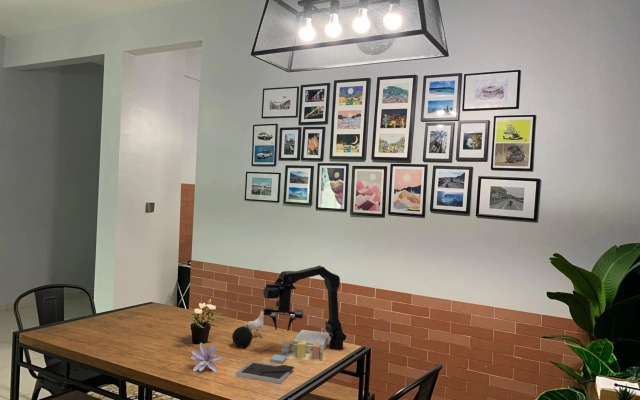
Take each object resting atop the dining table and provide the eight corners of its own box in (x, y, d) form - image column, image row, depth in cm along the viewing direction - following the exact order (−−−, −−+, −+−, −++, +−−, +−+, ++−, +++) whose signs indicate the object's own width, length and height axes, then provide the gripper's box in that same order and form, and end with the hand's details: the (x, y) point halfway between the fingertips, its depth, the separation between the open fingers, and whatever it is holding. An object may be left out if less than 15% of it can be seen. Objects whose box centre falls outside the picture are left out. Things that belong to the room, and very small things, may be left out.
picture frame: (293, 372, 216) (251, 365, 222) (294, 366, 216) (251, 359, 222) (281, 385, 201) (235, 377, 207) (281, 379, 201) (235, 371, 207)
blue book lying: (286, 362, 227) (287, 356, 227) (282, 367, 221) (282, 360, 221) (274, 360, 229) (274, 354, 229) (269, 365, 222) (270, 359, 222)
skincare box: (291, 351, 243) (322, 354, 240) (291, 340, 243) (322, 343, 240) (301, 339, 264) (330, 342, 260) (301, 329, 264) (330, 331, 260)
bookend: (289, 352, 237) (290, 342, 237) (288, 356, 231) (288, 346, 231) (283, 352, 237) (284, 342, 237) (282, 356, 231) (282, 346, 231)
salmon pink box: (319, 354, 237) (319, 342, 237) (318, 359, 230) (319, 346, 230) (313, 354, 237) (313, 341, 237) (312, 358, 230) (313, 346, 230)
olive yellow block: (306, 353, 237) (306, 340, 236) (305, 358, 231) (306, 344, 230) (297, 353, 237) (298, 340, 237) (296, 357, 231) (297, 343, 231)
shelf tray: (322, 356, 238) (322, 345, 238) (321, 363, 228) (322, 352, 228) (281, 353, 239) (282, 343, 239) (279, 360, 229) (280, 349, 229)
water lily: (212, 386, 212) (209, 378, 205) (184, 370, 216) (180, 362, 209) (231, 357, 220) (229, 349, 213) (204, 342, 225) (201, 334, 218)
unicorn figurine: (270, 334, 268) (271, 310, 268) (250, 343, 251) (251, 318, 251) (259, 332, 272) (260, 308, 271) (238, 341, 254) (240, 315, 254)
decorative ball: (228, 347, 243) (229, 328, 242) (238, 342, 252) (239, 323, 252) (245, 351, 239) (246, 331, 239) (255, 345, 249) (256, 326, 248)
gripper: (304, 296, 241) (302, 327, 241) (267, 293, 241) (264, 324, 241) (303, 301, 230) (301, 334, 230) (264, 297, 230) (261, 330, 230)
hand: (282, 330), depth 233 cm, fingers open, 5 cm apart
